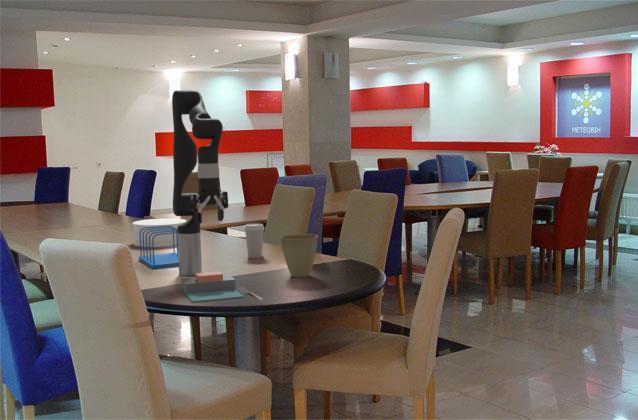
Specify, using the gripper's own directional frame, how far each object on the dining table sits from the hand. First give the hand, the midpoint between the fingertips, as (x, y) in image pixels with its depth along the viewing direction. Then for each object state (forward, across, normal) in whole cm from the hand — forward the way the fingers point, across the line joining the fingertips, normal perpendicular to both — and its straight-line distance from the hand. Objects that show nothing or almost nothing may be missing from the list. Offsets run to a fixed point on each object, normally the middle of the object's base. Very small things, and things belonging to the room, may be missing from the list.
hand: (209, 221), depth 246 cm
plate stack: (+30, -43, -123) cm, 134 cm away
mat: (+26, +1, +4) cm, 26 cm away
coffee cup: (+28, -55, -52) cm, 80 cm away
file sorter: (+28, -17, -69) cm, 76 cm away
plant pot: (+27, -43, -3) cm, 51 cm away
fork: (+27, -9, +13) cm, 31 cm away
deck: (+26, -3, -7) cm, 27 cm away
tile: (+21, -2, -5) cm, 22 cm away
